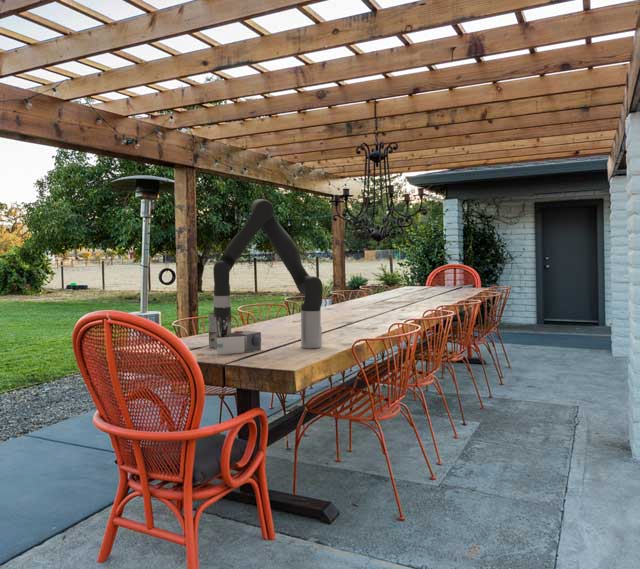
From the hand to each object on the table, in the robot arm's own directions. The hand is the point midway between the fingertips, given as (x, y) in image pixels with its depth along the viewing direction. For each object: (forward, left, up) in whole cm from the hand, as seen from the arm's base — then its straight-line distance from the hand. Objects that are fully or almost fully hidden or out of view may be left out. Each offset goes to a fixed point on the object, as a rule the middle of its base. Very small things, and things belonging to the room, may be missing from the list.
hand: (222, 344), depth 248 cm
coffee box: (-13, -14, -4) cm, 19 cm away
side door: (-1, +5, -3) cm, 6 cm away
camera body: (-12, +3, -4) cm, 13 cm away
